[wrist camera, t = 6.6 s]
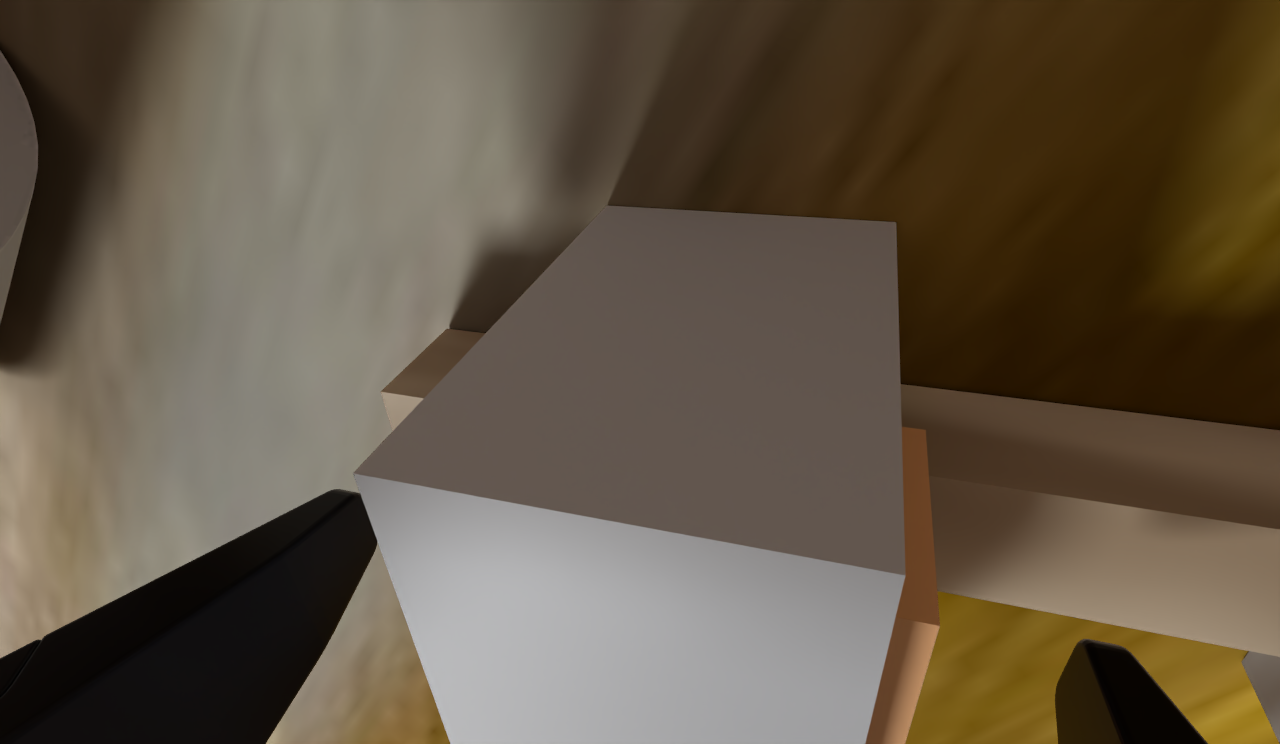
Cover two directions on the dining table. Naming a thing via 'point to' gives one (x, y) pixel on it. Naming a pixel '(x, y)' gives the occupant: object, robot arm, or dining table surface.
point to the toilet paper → (14, 171)
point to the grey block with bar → (1077, 511)
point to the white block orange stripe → (672, 495)
